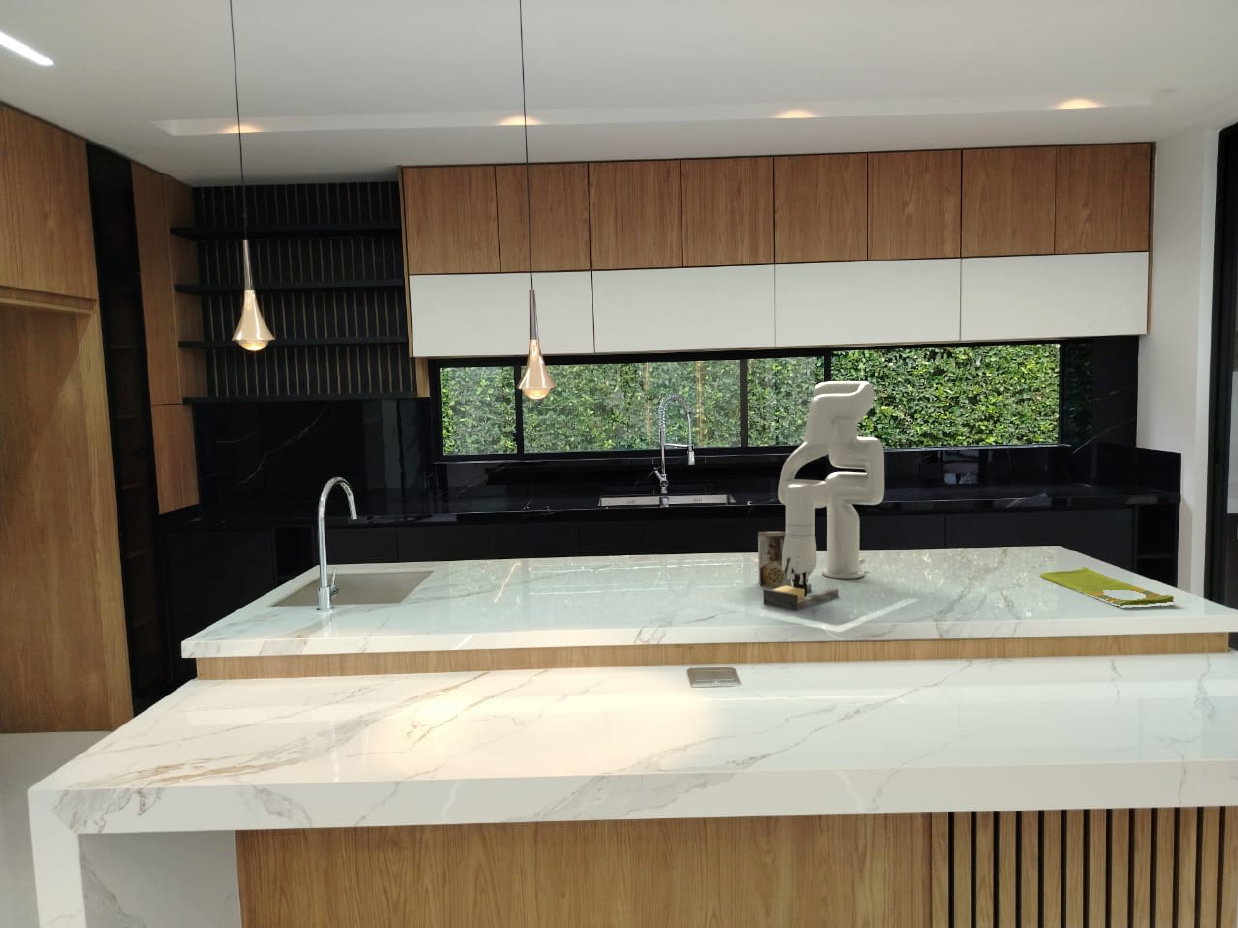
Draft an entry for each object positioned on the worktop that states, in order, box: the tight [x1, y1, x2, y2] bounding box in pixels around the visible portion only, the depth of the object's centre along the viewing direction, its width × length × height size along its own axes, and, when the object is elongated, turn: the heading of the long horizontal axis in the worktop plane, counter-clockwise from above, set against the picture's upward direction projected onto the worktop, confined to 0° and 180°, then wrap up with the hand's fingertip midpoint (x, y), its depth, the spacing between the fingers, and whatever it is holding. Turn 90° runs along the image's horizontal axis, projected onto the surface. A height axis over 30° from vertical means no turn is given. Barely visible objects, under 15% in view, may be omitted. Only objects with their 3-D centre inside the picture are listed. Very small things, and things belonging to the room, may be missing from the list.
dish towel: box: [1039, 566, 1175, 606], centre depth 239 cm, size 15×36×3 cm, turn 7°
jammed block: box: [772, 585, 805, 599], centre depth 227 cm, size 6×6×4 cm
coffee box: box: [757, 531, 792, 587], centre depth 249 cm, size 9×6×16 cm
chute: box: [763, 582, 839, 612], centre depth 231 cm, size 20×14×5 cm
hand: (800, 597), depth 231 cm, fingers closed
